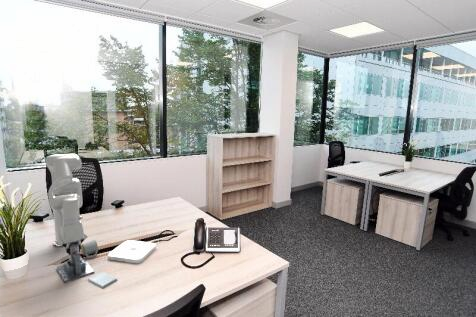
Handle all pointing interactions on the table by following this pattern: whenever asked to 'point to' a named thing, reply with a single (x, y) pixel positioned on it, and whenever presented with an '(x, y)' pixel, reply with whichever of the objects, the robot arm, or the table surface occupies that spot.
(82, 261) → the stand
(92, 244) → the ceramic mug
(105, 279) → the hard drive
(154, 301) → the table surface
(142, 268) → the table surface
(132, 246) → the computer
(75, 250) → the column
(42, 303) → the table surface
